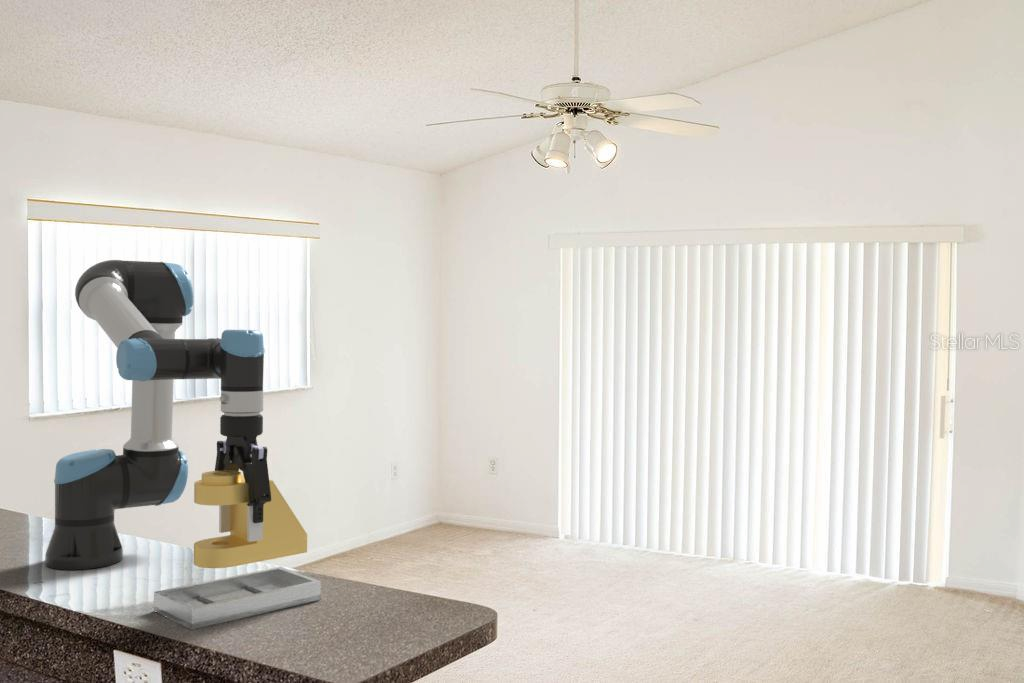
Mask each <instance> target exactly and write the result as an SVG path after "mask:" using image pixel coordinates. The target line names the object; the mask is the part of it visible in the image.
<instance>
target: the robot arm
mask: <svg viewBox="0 0 1024 683" xmlns="http://www.w3.org/2000/svg"><path fill="white" fill-rule="evenodd" d="M74 296H75V301H76V303H77V306H78V308H79V309H80V310H81V312H82V313H83V314H84V316H86V317H87V318H88V319H91V320H93V321H96V322H97V324H98V325H99V327H100V328H101V329H102V330H103V331H104V332H105V334H106V336H107V337H108V338H109V339H110V341H111V342H112V344H114V346H115V347H116V348H117V349H116V354H115V355H116V356H115V360H116V361H115V362H116V368H117V369H118V371H117V372H118V374H119V376H120V377H121V378H122V379H123V380H125V381H131V382H132V383H131V384H132V385H131V414H130V415H131V419H130V439H128V440H127V441H126V442H125V443H124V444H123V445H122V454H121V455H120V454H119V455H116V453H115V451H114V450H113V449H109V448H103V449H102V448H101V449H99V448H98V449H90V450H85V451H84V450H83V451H80V452H74V453H70V454H68V455H65V456H63V457H61V458H60V459H59V460H58V461H57V462H56V465H55V473H54V479H53V482H54V529H53V530H52V534H51V537H50V540H49V543H48V546H47V548H46V552H45V556H44V557H45V561H44V562H45V563H44V564H45V566H46V567H48V568H50V569H56V570H64V571H65V570H69V571H70V570H71V571H72V570H73V571H74V570H75V571H76V570H89V569H97V568H102V567H107V566H110V565H111V566H112V565H113V564H117V563H119V562H121V561H122V560H123V552H124V551H123V546H122V543H121V539H120V536H119V534H118V532H117V528H116V525H115V511H116V510H119V509H120V510H121V509H129V508H139V507H150V506H154V507H155V506H156V507H157V506H158V507H159V506H161V505H166V504H171V503H174V502H176V501H177V500H179V499H180V498H181V497H182V495H183V493H184V491H185V489H186V485H187V482H188V476H189V465H188V457H187V456H186V453H184V452H183V451H181V450H180V448H179V443H178V442H176V440H175V439H174V438H173V437H172V436H173V414H174V412H173V410H174V409H173V408H174V407H173V406H174V380H207V379H210V380H211V379H218V380H219V379H220V397H219V401H220V412H222V413H224V414H222V415H221V416H220V417H219V418H220V419H219V420H220V422H219V424H220V425H219V427H220V428H219V430H220V431H219V432H220V436H224V437H226V438H225V439H226V440H217V442H216V458H215V467H214V471H238V472H241V471H242V473H243V474H242V475H244V479H245V483H249V499H250V502H249V503H248V504H247V505H248V506H247V541H248V542H252V541H258V540H263V506H264V504H265V503H266V502H270V501H271V491H270V483H269V480H270V478H269V468H268V447H267V446H259V445H258V440H257V438H258V437H259V436H261V435H262V434H263V432H264V431H263V430H264V424H263V423H264V417H263V415H262V414H261V413H262V412H263V411H264V364H265V362H264V358H265V356H264V355H265V346H264V345H265V344H264V334H263V332H262V331H260V330H258V329H225V330H223V331H222V333H221V338H220V337H219V338H214V337H213V338H212V337H211V338H188V339H187V338H186V339H185V338H184V339H183V338H176V331H177V330H178V329H179V328H180V327H181V326H182V325H183V317H186V316H189V315H190V313H191V312H192V310H193V306H194V289H193V284H192V280H191V277H190V276H189V273H188V272H187V270H186V269H185V268H184V267H183V266H182V265H180V264H177V263H171V262H166V261H165V262H164V261H141V260H120V259H110V260H104V261H103V260H102V261H101V262H98V263H95V264H93V265H91V266H90V267H89V268H88V269H86V270H85V271H84V272H83V273H82V274H81V276H80V277H79V279H78V280H77V283H76V286H75V290H74ZM255 497H256V498H255ZM218 507H219V508H218V512H219V514H218V517H219V518H218V519H219V520H218V532H219V533H221V534H222V533H228V532H230V524H231V505H218Z"/></svg>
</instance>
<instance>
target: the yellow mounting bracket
mask: <svg viewBox="0 0 1024 683" xmlns="http://www.w3.org/2000/svg"><path fill="white" fill-rule="evenodd" d="M269 483H270V491H271V501H270V502H266V503H265V504H264V506H263V540H258V541H252V542H248V541H247V506H248V505H247V504H248V503H249V502H250V499H249V483H245V479H244V475H243V474H242V472H241V471H215V470H211V471H204V472H203V473H201V479H199V480H197V481H194V484H193V487H194V489H193V490H194V493H193V502H194V504H197V505H199V506H200V505H202V506H214V507H215V506H218V507H219V505H231V524H230V534H229V535H223V536H218V537H211V538H204V539H201V540H198V541H195V542H194V543H193V565H194V566H195V567H198V568H203V569H225V568H227V569H228V568H234V567H237V566H238V567H239V566H243V565H249V564H253V563H254V564H255V563H258V562H260V563H261V562H264V561H269V560H275V559H278V558H284V557H285V558H286V557H289V556H291V557H292V556H295V555H300V554H304V553H305V554H306V553H308V533H307V532H306V531H305V528H304V527H303V525H302V524H301V523H300V520H299V519H298V518H297V517H296V515H295V513H294V511H293V510H292V509H291V507H290V505H289V504H288V502H287V500H286V499H285V497H284V496H283V495H282V493H281V491H280V489H279V488H278V487H277V485H276V484H275V481H274V480H273V479H269ZM255 498H256V497H255Z"/></svg>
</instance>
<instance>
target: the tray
mask: <svg viewBox="0 0 1024 683" xmlns="http://www.w3.org/2000/svg"><path fill="white" fill-rule="evenodd" d="M321 589H322V581H321V580H320V579H319V580H318V579H315V578H313V577H310V576H307V575H305V574H301V573H298V572H296V571H293V570H290V569H288V568H284V567H282V566H279V567H278V566H277V567H274V568H268V569H263V570H262V569H261V570H257V571H252V572H248V573H242V574H239V575H233V576H232V575H231V576H227V577H222V578H217V579H213V580H209V581H208V580H207V581H201V582H197V583H192V584H187V585H181V586H177V587H172V588H167V589H161V590H156V591H153V612H154V611H157V612H159V613H160V614H162V615H161V616H163V615H164V616H163V617H165V616H167V617H168V618H167V617H166V618H167V619H169V618H170V619H169V620H171V619H172V620H171V621H173V620H174V621H173V622H175V621H176V622H175V623H177V624H179V623H180V624H179V625H181V624H182V625H181V626H183V625H184V626H183V627H185V626H186V627H185V628H187V627H188V628H187V629H189V628H190V629H189V630H191V629H192V631H193V630H197V629H196V628H198V629H201V628H200V627H202V628H205V627H204V626H206V627H210V626H215V625H219V624H223V623H226V622H231V621H236V620H241V619H244V618H248V617H252V616H256V615H261V614H266V613H270V612H274V611H279V610H282V609H286V608H290V607H291V608H292V607H295V606H299V605H304V604H308V603H312V602H317V601H320V600H322V599H321V598H322V590H321ZM160 614H159V615H160ZM214 624H215V625H214Z"/></svg>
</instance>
